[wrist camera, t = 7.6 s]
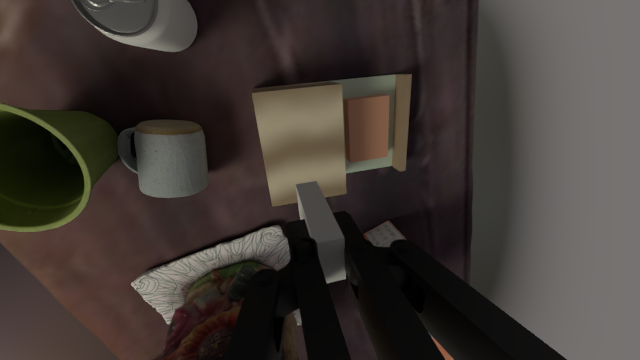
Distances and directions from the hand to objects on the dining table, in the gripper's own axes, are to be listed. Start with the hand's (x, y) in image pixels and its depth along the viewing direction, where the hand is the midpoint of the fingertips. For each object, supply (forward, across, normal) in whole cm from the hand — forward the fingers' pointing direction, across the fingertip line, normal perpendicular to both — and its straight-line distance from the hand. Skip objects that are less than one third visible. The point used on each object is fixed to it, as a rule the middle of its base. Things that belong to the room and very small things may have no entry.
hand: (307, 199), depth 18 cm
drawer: (+20, +12, -1) cm, 24 cm away
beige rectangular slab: (+20, +2, -1) cm, 20 cm away
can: (+21, -11, +14) cm, 27 cm away
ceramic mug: (+21, -15, -1) cm, 26 cm away
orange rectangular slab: (+18, +12, -1) cm, 22 cm away
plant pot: (+21, -24, +2) cm, 32 cm away
